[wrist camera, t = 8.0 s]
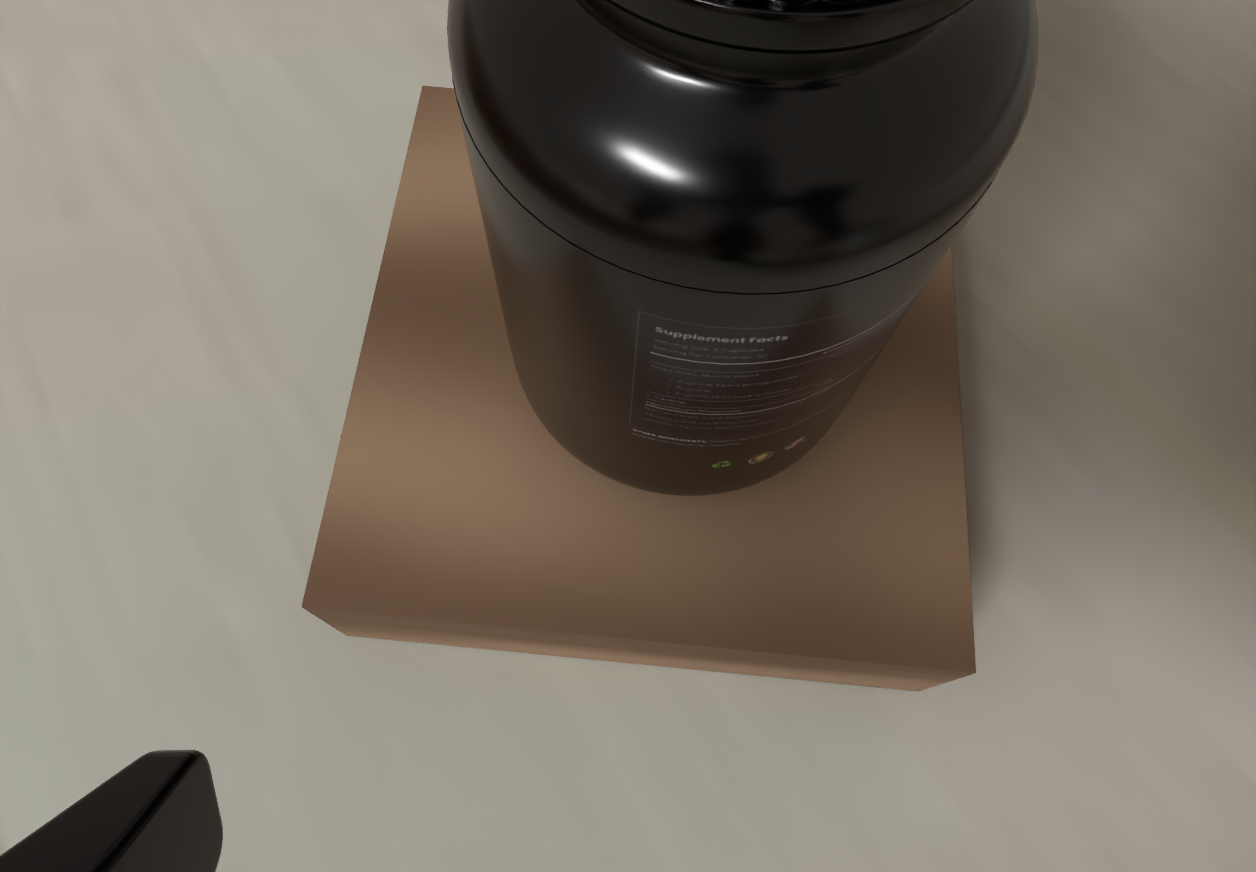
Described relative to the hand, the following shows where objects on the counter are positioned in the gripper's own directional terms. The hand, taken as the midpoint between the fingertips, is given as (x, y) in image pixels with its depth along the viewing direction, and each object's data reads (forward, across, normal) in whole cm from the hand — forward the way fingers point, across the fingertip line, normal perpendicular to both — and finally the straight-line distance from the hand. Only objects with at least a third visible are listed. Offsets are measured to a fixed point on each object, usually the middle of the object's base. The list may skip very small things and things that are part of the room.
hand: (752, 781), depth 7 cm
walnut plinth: (+14, 0, +2) cm, 14 cm away
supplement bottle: (+12, 0, 0) cm, 12 cm away
